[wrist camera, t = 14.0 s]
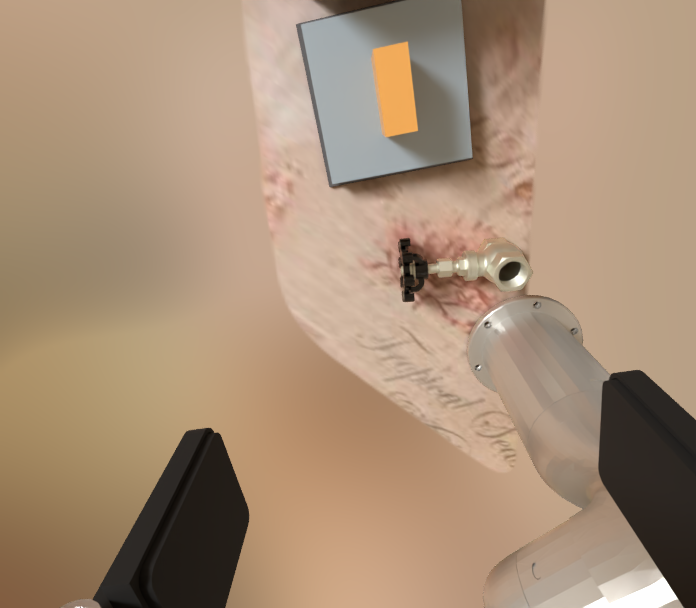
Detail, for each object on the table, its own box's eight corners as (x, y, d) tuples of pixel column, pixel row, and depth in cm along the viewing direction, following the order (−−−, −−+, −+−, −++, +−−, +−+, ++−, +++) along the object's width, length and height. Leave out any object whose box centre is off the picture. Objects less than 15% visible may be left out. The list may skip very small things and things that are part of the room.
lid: (467, 155, 42) (490, 164, 34) (333, 180, 43) (328, 195, 35) (454, -6, 37) (479, -36, 29) (303, 29, 38) (289, 8, 30)
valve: (514, 220, 45) (396, 230, 45) (538, 237, 38) (402, 248, 39) (511, 280, 47) (399, 289, 48) (533, 305, 41) (405, 315, 42)
